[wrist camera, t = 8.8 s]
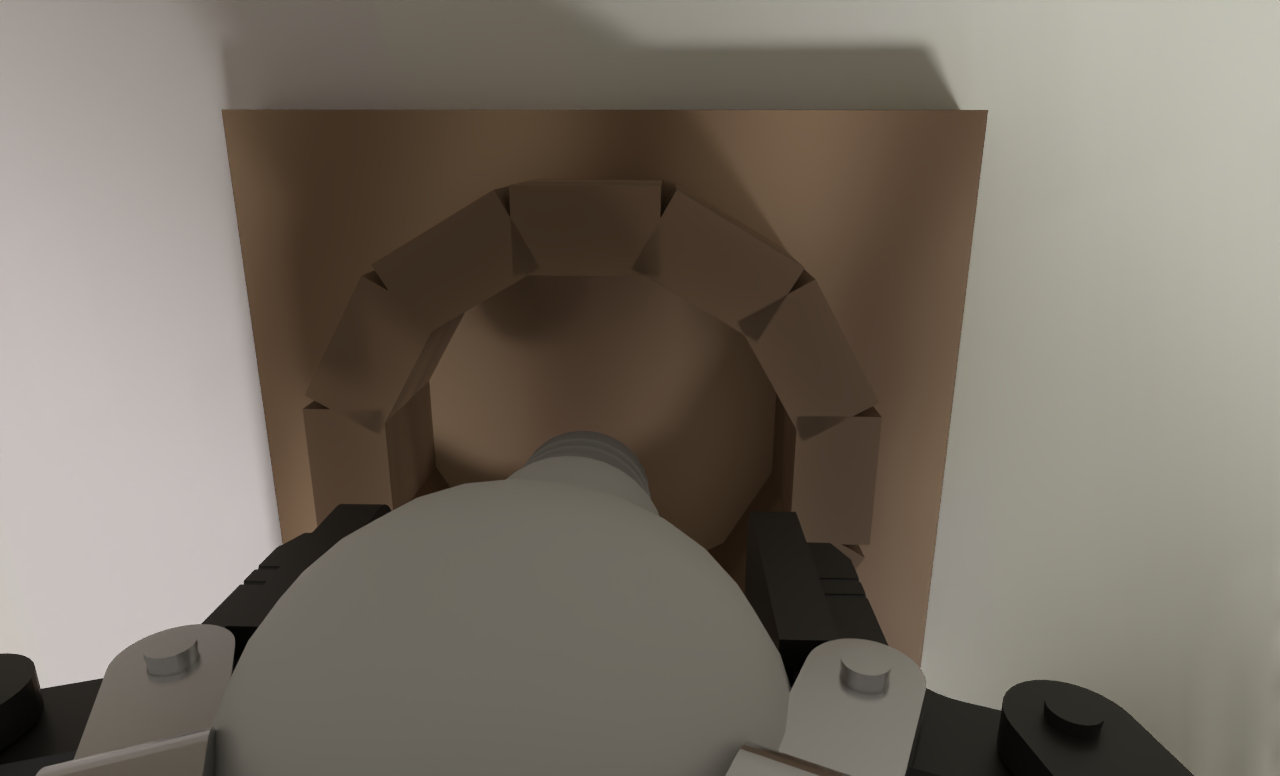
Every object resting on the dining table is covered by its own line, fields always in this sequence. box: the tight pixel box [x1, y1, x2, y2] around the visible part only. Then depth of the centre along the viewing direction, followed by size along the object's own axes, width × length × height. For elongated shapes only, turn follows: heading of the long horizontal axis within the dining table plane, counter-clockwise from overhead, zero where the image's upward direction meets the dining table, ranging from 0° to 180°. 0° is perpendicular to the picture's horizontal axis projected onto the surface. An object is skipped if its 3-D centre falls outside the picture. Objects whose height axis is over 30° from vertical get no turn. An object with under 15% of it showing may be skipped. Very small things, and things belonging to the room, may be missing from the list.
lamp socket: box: [222, 110, 988, 668], centre depth 18 cm, size 16×14×4 cm
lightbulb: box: [212, 431, 791, 776], centre depth 11 cm, size 6×6×11 cm
